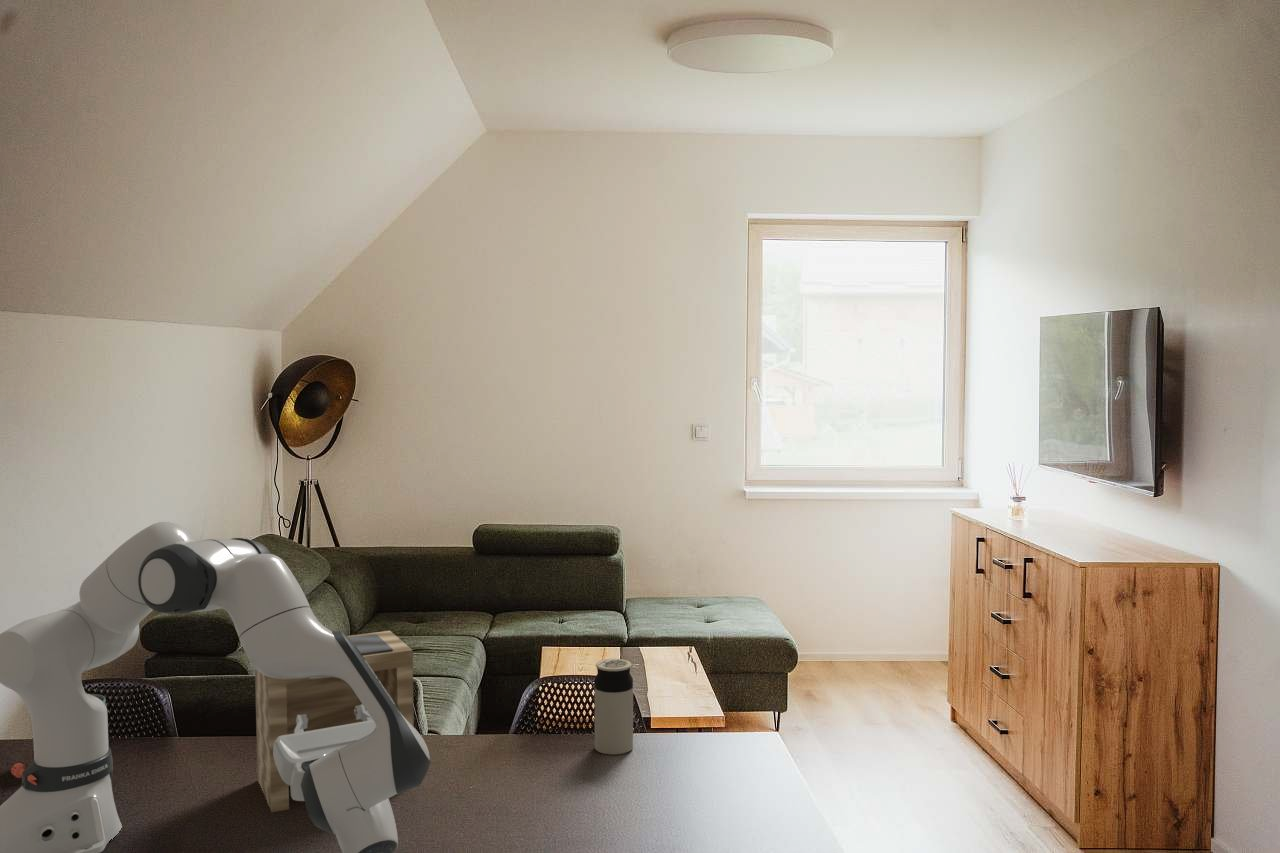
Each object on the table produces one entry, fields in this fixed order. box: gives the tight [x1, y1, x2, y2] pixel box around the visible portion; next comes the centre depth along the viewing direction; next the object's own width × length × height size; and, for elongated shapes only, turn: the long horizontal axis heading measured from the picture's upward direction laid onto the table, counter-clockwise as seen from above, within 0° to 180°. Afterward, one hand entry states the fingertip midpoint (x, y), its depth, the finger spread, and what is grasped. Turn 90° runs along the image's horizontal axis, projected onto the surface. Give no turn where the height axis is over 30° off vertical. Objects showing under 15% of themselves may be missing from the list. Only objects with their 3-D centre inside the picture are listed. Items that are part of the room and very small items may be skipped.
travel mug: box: [593, 658, 634, 756], centre depth 216 cm, size 8×8×18 cm
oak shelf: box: [254, 630, 415, 813], centre depth 199 cm, size 16×26×26 cm, turn 119°
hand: (330, 712), depth 175 cm, fingers open, 8 cm apart
